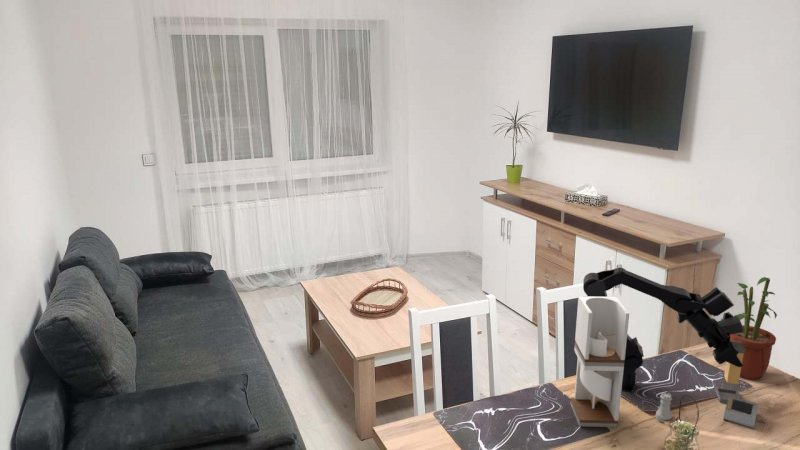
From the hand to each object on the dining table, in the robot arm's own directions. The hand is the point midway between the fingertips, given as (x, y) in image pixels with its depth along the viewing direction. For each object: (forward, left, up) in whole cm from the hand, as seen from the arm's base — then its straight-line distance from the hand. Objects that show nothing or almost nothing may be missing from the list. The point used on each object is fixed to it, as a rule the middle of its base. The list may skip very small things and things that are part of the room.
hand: (739, 362), depth 170 cm
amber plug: (-1, 0, -6) cm, 6 cm away
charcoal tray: (-1, 0, -13) cm, 13 cm away
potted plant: (+1, +20, -13) cm, 24 cm away
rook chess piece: (-18, -20, -13) cm, 30 cm away
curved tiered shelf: (-36, -27, -13) cm, 47 cm away
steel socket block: (+2, -10, -13) cm, 17 cm away
